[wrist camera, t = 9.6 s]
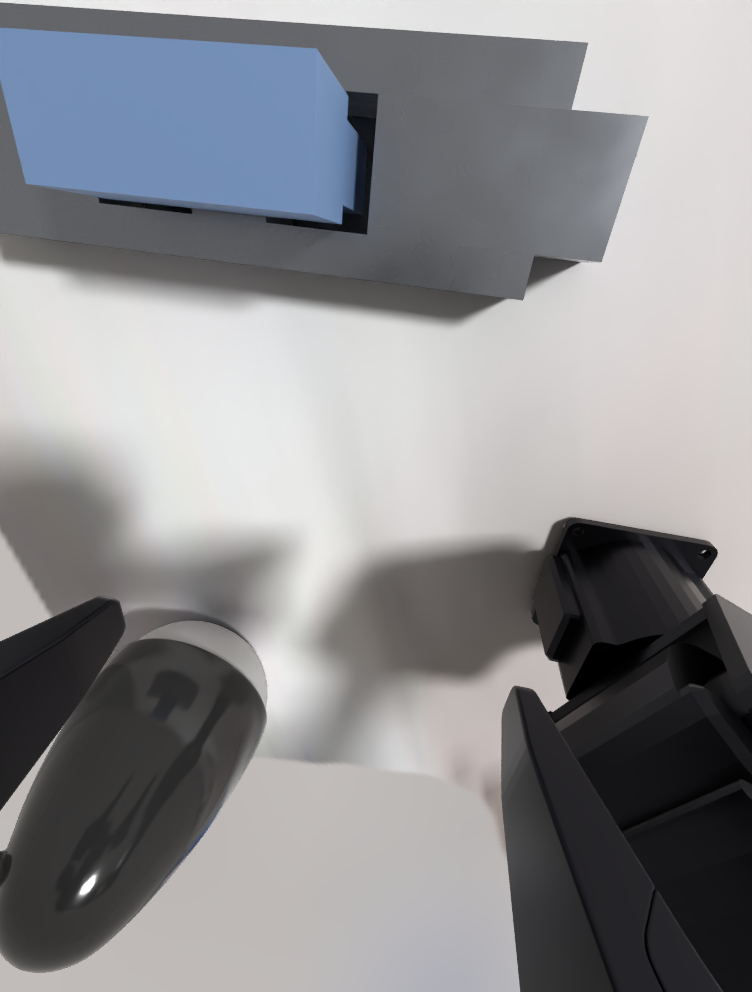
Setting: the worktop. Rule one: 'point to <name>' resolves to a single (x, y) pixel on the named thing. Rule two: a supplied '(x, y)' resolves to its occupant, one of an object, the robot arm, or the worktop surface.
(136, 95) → the blue notched pillar
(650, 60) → the worktop surface
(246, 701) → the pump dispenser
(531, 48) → the rail
